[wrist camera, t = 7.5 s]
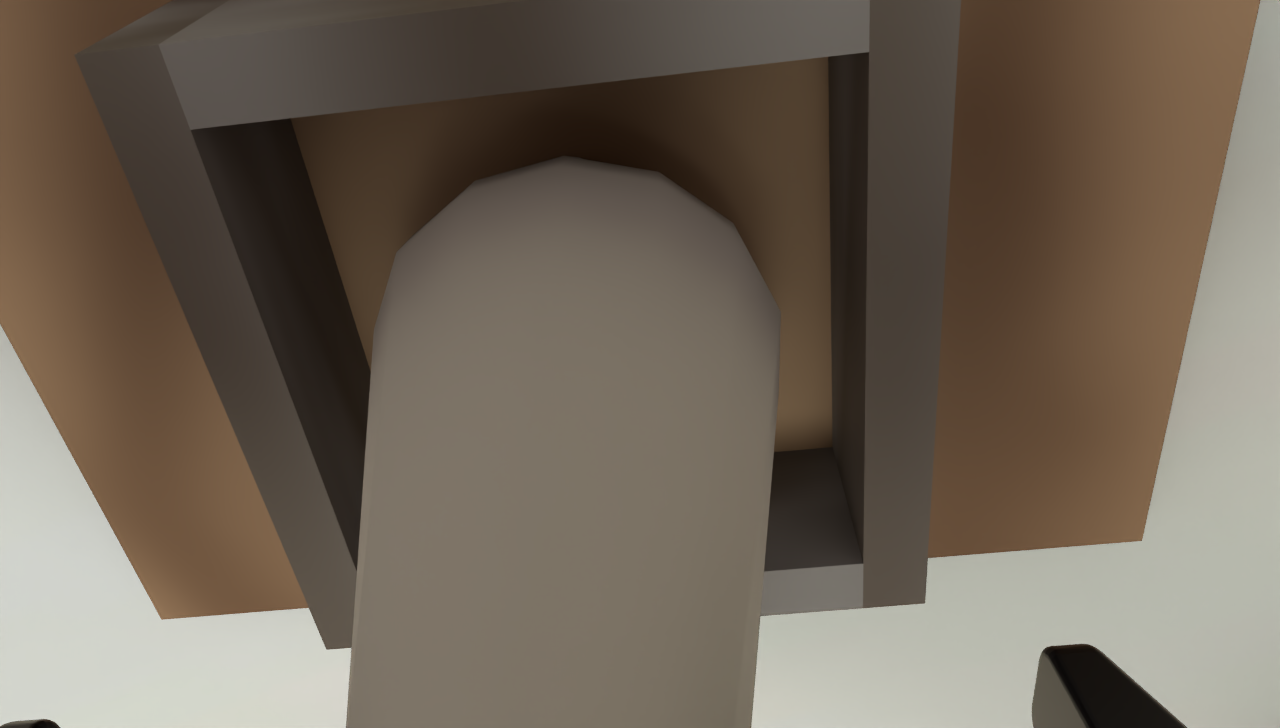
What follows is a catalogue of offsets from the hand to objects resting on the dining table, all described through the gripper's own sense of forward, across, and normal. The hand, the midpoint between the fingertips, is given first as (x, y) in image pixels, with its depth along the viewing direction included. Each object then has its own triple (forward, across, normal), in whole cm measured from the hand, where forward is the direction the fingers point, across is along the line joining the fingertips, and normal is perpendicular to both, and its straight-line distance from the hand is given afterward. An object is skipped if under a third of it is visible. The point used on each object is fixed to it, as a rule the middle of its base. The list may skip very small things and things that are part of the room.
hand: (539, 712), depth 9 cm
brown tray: (+9, 0, 0) cm, 9 cm away
